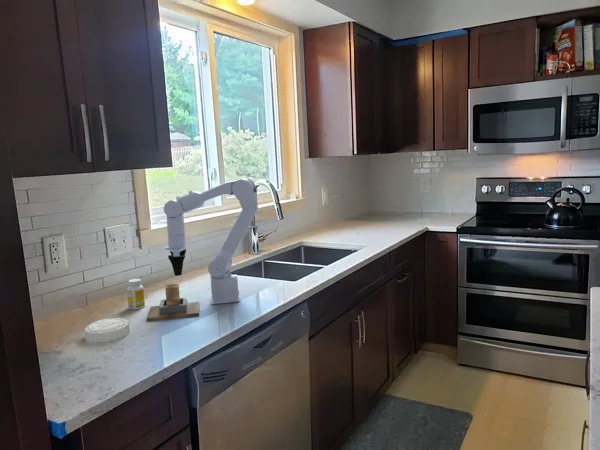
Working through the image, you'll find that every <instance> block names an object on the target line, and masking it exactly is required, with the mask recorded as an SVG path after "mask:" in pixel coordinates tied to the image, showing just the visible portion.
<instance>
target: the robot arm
mask: <svg viewBox="0 0 600 450" xmlns="http://www.w3.org/2000/svg"><path fill="white" fill-rule="evenodd" d="M223 195H228V196H235V198H236V199H237V200H238V201H239V204H240V207H241V211H240V213H239V215H238V217H237V219H236V221H235V222H234V224H233V226H232V228H231V229H230V232H229V234H228V235H227V238H226V239H225V241H224V243H223V245H222V247H221V249H220V250H219V252H218V253H217V254H216V256H215V258H214V259H213V260H211V261H210V262H209V264H208V266H207V270H208V273H209V275H210V290H211V296H210V304H211V305H217V304H220V305H221V304H229V303H238V302H240V296H239V295H240V291H239V282H238V275H237V274H232V272H231V271H230V269H231V268H232V265H233V262H232V261H233V258H234V256H235V253H236V251H237V249H238V247H239V246H240V244H241V242H242V239H243V238H244V236H245V234H246V233H247V231H248V228H249V227H250V225H251V223H252V221H253V220H254V217H255V216H256V214H257V212H258V210H259V203H258V188H257V187H256V184H255V182H254V181H253V180H252V179H250V178H249V177H248V178H247V177H243V178H239V179H236V180H231V181H227V182H224V183H221V184H219V185H216V186H214V187H212V188H210V189H207V190H204V191H203V192H201V191H198V190H190V191H189V190H188V193H187V194H184V195H182V196H181V195H180V196H179V195H178V196H176V198H175V199H170V200H168V201H167V202H166V203H165V204H164V206H163V212H164V214H165V215H166V230H167V242H168V246H165V247H164V250H165V251H169V253H170V254H171V255H170V254H169V255H168V256H167V257H168V260H169V262H170V263H171V266H172V271H173V273H174V274H173V275H174V276H175V277H177V276H182V274H183V268H184V267H183V266H184V261H185V258H186V252H187V245H186V233H185V231H186V229H185V219H184V214H186V213H189V212H192V211H194V210H197V209H199V208H202V207H204V205H205V202H206V201H209V200H211V199H215V198H217V197H220V196H223Z"/></svg>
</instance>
